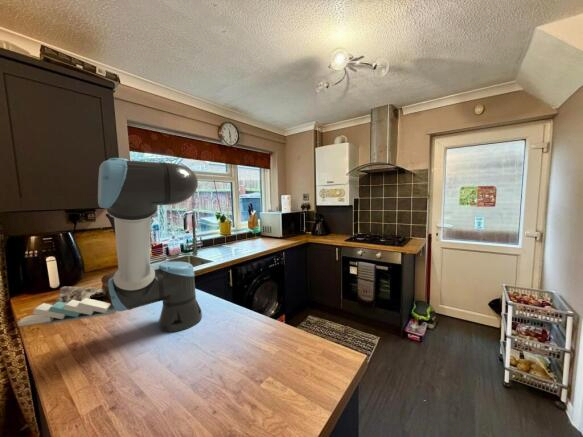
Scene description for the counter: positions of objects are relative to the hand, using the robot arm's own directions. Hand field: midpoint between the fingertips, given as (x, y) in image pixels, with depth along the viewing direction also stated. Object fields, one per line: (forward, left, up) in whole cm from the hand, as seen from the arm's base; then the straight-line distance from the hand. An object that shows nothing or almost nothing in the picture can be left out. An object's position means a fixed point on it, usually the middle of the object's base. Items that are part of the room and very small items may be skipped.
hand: (128, 251), depth 101 cm
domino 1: (+21, +21, -25) cm, 38 cm away
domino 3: (+12, +10, -25) cm, 29 cm away
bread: (+17, -7, -26) cm, 32 cm away
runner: (+14, +13, -26) cm, 32 cm away
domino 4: (+9, +6, -25) cm, 27 cm away
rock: (+32, +9, -27) cm, 43 cm away
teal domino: (+15, +14, -25) cm, 32 cm away
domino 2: (+18, +17, -25) cm, 35 cm away
